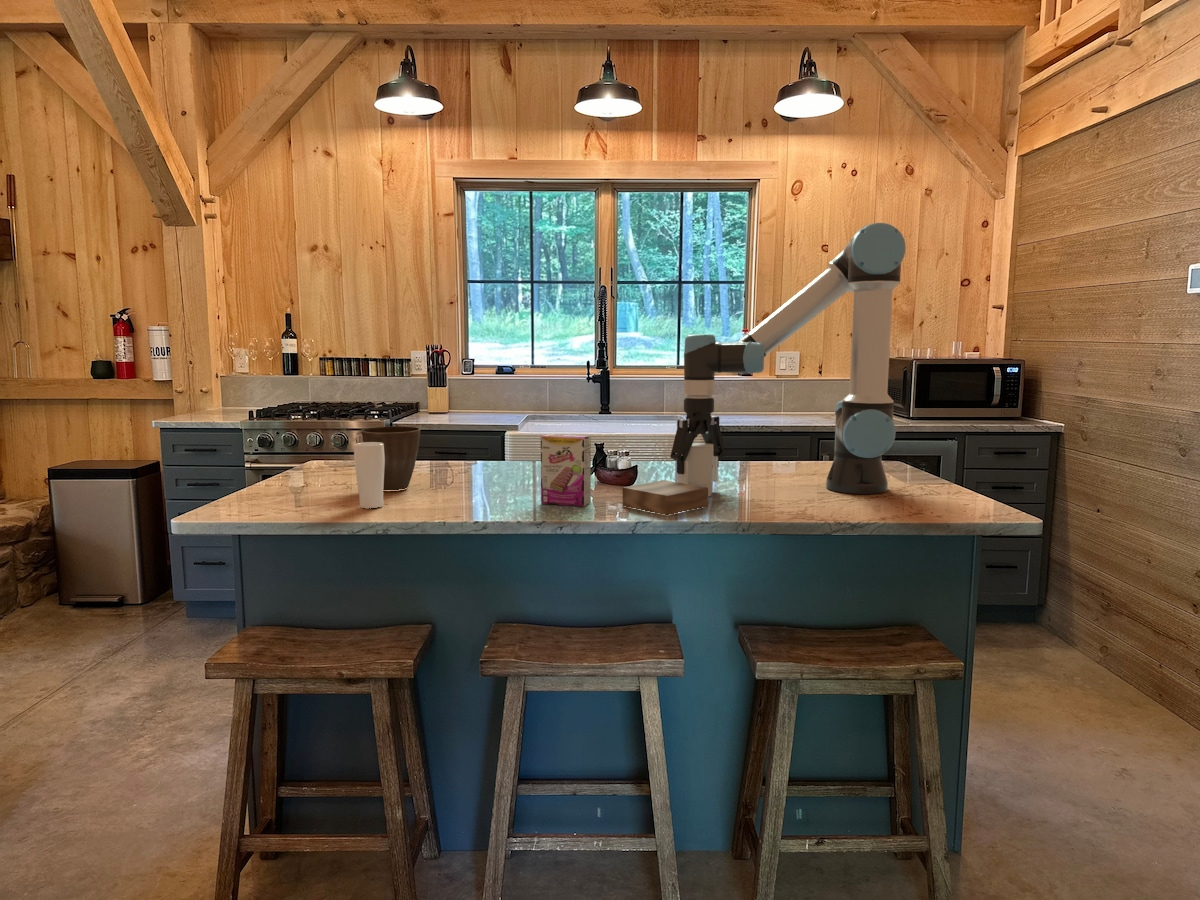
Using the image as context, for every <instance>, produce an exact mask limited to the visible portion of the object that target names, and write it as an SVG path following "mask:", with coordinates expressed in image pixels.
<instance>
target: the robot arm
mask: <svg viewBox="0 0 1200 900" xmlns="http://www.w3.org/2000/svg"><path fill="white" fill-rule="evenodd" d="M906 249H907V248H906V241H905V238H904V235H903V234H902V233H901V231H900V230H899V229H898V228H896V227H895V226H894V225H892V224H890V223H885V222H876V223H875V222H874V223H870V224H868V225H867V224H866V225H864V226H863V227H861V228H860V229H859V230H857V232H856V233H855V234H854V236H853V237H852V238H851V239H850V240H849V242H848V244H847V245H846V246H845V247H844V248H843V249H842V250H841V252H840V253H838V254H837V255H836V256H835V257H834V258H833V259H832V260H831V261H830V262H829V263H828V267H827V269H826V270H825V271H824V272H822V273H821V274H819V275H818V276H817V277H816V278H814V279H813V280H811V282H810V283H808V284H807V285H806V286H805V287H804V288H802V289H801V290H800V291H798V292H797V293H796V294H794V295H793V296H792V297H791V298H790V299H788V300H787V301H786V302H784V304H782V305H781V306H780V307H778V308H777V309H776V310H775V311H774V312H772V313H771V314H770V315H769V316H768V317H766V318H765V319H763V321H761V322H760V323H759V324H757V325H756V326H755V327H754V328H752V330H750V331H748V332H747V334H745V335H744V336H743V337H741V338H740V339H739V340H737V341H736V342H735V341H734V342H721V341H720V342H718V341H717V340H716V336H715V335H714V334H688V335H686V337H685V339H684V352H683V359H684V360H683V381H684V382H683V384H684V385H683V395H684V396H686V397H684V399H683V412H684V413H685V414H686V416H685V419H684V418H683V419H681V418H679V419H677V421H676V422H677V423H676V430H675V435H674V438H673V439H674V440H673V444H672V447H671V452H670V458H671V459H672V460H673V461H676V474H677V483H683V484H688V461H685V460H686V458H687V456H688V453H689V451H690V448H691V446H692V444H693V443H694V441H695V440H696V438H697V437H698V436H699V435H700V436H702V438H703V441H704V443H710V444H713V483H714V482H715V483H716V482H717V483H718V480H719V479H718V477H719V473H718V472H719V471H718V470H719V466H720V465H719V462H720V459H719V458H720V457H722V456H723V454H724V452H725V451H726V449H725V446H724V441H723V440H724V439H723V435H722V430H721V425H720V416H718V415H717V416H716V415H712V414H713V413H714V412H715V399H714V398H713V396H714V395H715V392H716V391H715V389H716V388H715V382H716V381H715V374H748V375H751V374H760V373H763V371H764V368H765V366H764V365H765V357H766V356H767V355H769V354H770V353H771V352H773V351H774V350H775V349H776V348H779V346H780V345H782V344H783V343H784V342H785V341H786V340H788V339H789V338H791V336H793V335H795V333H797V332H798V331H799V330H800V329H802V328H803V327H804V326H805V325H807V324H808V323H809V322H811V321H812V320H813V319H814V318H816V317H817V316H818V315H820V314H821V313H822V312H823V311H825V310H826V309H827V308H828V307H830V306H831V305H833V303H835V302H836V301H838V300H839V299H840V298H841V297H842V296H844V295H845V294H847V293H853V303H852V304H853V306H852V308H853V310H852V328H851V330H852V331H851V347H850V348H851V352H850V353H851V354H850V371H849V372H850V374H849V392H848V394H847V395H846V396H845V397H844V398H842V400H840V401H838V402H837V403H836V408H835V410H834V415H835V425H834V426H835V431H834V454H833V455H834V457H833V461H832V464H831V467H830V470H829V472H828V473H827V474H828V475H827V477H826V481H825V482H826V484H825V485H826V486H825V487H826V489H827V490H829V491H833V492H836V493H845V494H854V495H855V494H856V495H857V494H858V495H874V494H882V493H886V492H888V488H889V487H888V485H889V484H888V482H889V481H888V479H887V475H886V471H885V469H884V465H883V462H882V461H883V459H882V458H883V457H882V455H884V454H886V453H887V452H888V451H889V450H890V448H892V446H893V444H894V442H895V439H896V433H897V431H896V425H895V422H894V420H893V419H894V403H895V402H894V400H893V399H892V397H891V396H890V395H889V394H888V386H889V384H888V383H889V369H890V349H891V347H890V346H891V329H892V311H893V310H892V309H893V295H894V294H893V293H894V290H895V289H896V288H897V287H898V286H899V285H900V284H901V273H902V263H903V260H904V257H905V255H906Z"/></svg>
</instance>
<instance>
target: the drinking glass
mask: <svg viewBox="0 0 1200 900" xmlns="http://www.w3.org/2000/svg"><path fill="white" fill-rule="evenodd" d="M353 457H354V458H353V459H354V469H355V476H356V483H357V490H358V501H359V507H360V508H361V509H363V508H365V509H364V510H372V509H371V508H377V507H380V508H382V507H383V506H384V492H383V488H384V467H385V454H384V444H383V443H381V442H364V443H363V442H358V443H357V442H356V443H355V444H353ZM381 506H382V507H381ZM369 508H370V509H369ZM377 509H378V508H377Z"/></svg>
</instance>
